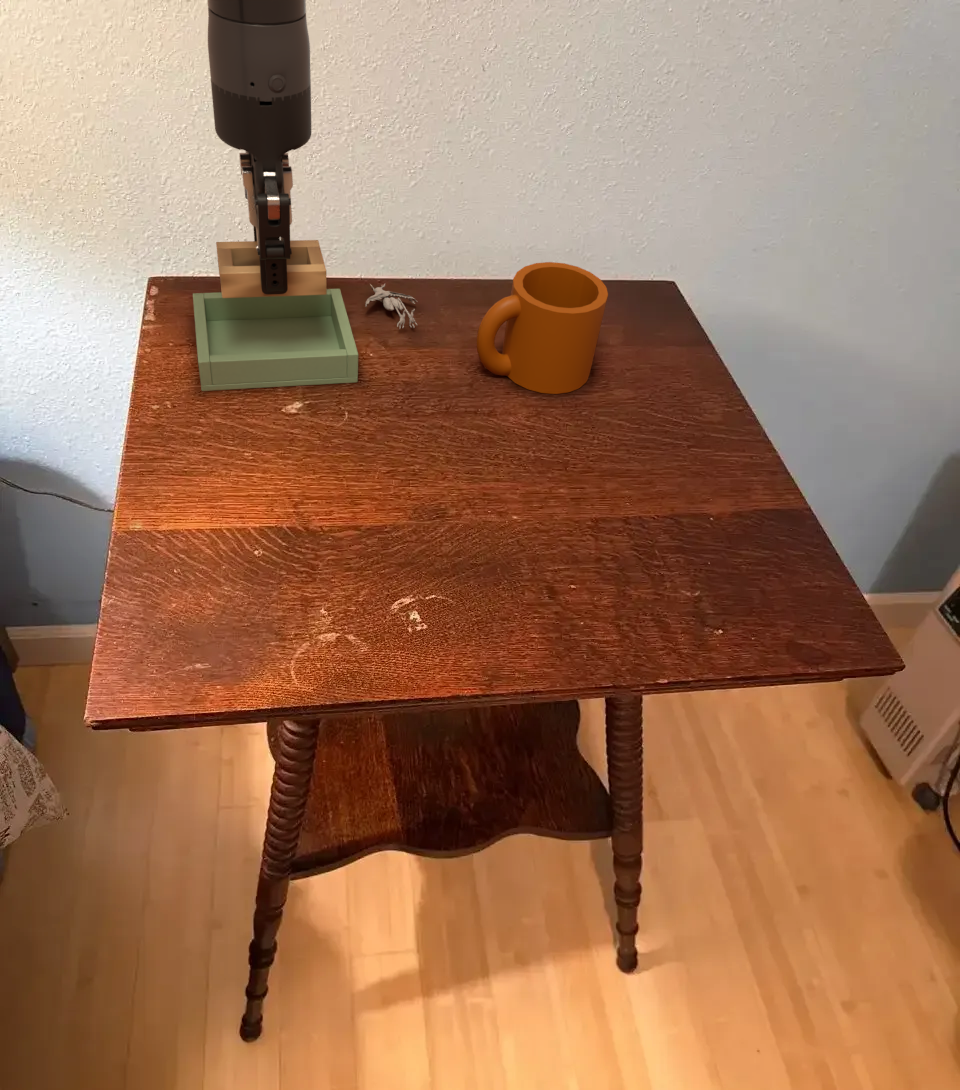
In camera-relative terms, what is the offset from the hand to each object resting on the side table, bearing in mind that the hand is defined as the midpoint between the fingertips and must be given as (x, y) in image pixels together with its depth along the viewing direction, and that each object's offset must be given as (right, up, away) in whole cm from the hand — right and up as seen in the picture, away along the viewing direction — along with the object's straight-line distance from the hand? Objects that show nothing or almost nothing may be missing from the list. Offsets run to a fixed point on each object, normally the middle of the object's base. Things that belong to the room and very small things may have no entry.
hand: (271, 273), depth 84 cm
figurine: (+12, -1, +13) cm, 17 cm away
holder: (-1, -6, +6) cm, 8 cm away
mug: (+23, -7, +9) cm, 26 cm away
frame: (0, -1, +1) cm, 1 cm away
